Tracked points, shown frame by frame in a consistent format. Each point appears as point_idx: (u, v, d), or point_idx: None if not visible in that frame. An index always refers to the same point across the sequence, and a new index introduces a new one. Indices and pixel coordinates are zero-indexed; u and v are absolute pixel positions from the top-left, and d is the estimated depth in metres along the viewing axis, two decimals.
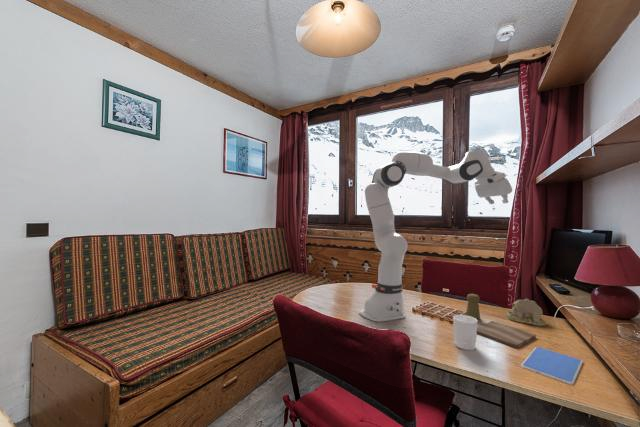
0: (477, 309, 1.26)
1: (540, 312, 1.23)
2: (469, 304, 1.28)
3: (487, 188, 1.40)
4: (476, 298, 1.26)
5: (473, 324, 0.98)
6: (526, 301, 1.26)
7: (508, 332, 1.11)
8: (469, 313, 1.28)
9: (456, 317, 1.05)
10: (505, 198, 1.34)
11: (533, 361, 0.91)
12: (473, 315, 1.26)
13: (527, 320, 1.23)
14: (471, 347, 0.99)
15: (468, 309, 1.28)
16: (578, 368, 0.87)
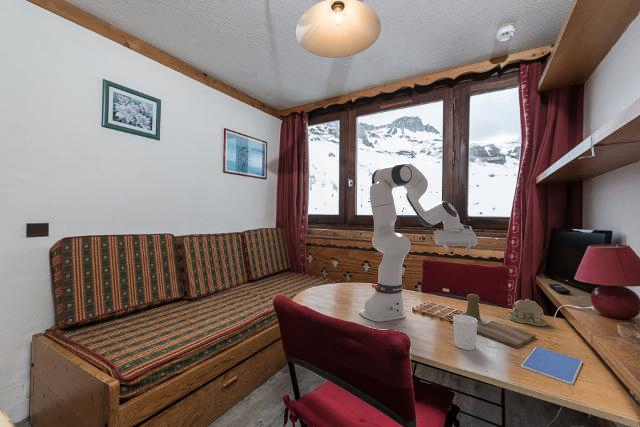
0: (477, 309, 1.26)
1: (541, 312, 1.22)
2: (469, 304, 1.28)
3: (453, 235, 1.47)
4: (476, 298, 1.26)
5: (473, 324, 0.98)
6: (527, 301, 1.25)
7: (508, 332, 1.11)
8: (469, 313, 1.28)
9: (456, 317, 1.05)
10: (469, 247, 1.42)
11: (533, 361, 0.91)
12: (473, 315, 1.26)
13: (528, 320, 1.23)
14: (471, 347, 0.99)
15: (468, 309, 1.28)
16: (578, 368, 0.87)
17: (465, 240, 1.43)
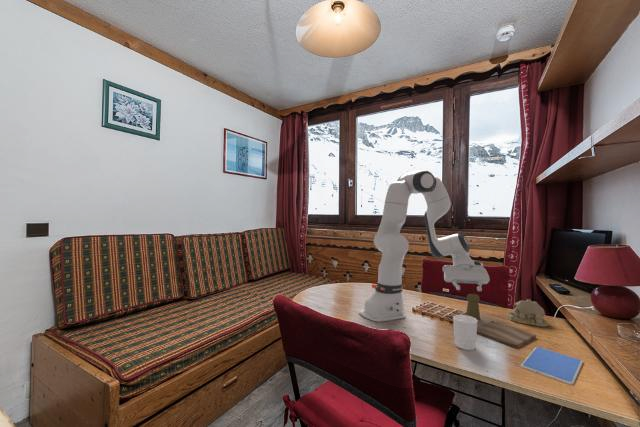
0: (477, 309, 1.26)
1: (542, 313, 1.22)
2: (469, 304, 1.28)
3: (464, 271, 1.40)
4: (476, 298, 1.26)
5: (473, 324, 0.98)
6: (528, 302, 1.25)
7: (508, 332, 1.11)
8: (469, 313, 1.28)
9: (456, 317, 1.05)
10: (481, 285, 1.35)
11: (533, 361, 0.91)
12: (473, 315, 1.26)
13: (530, 321, 1.22)
14: (471, 347, 0.99)
15: (468, 309, 1.28)
16: (578, 368, 0.87)
17: (476, 278, 1.36)
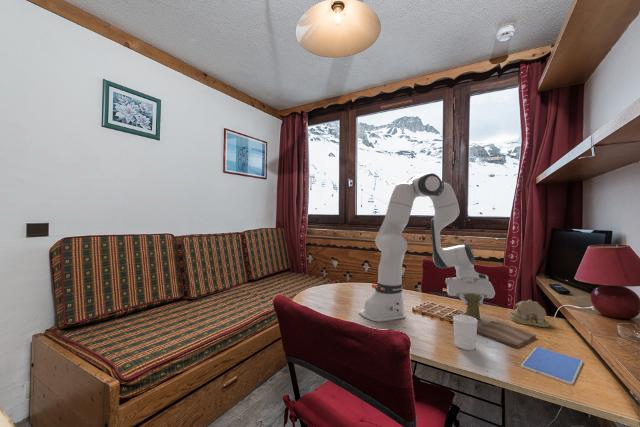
0: (477, 309, 1.26)
1: (544, 313, 1.21)
2: (469, 304, 1.28)
3: (468, 285, 1.33)
4: (476, 298, 1.26)
5: (473, 324, 0.98)
6: (529, 302, 1.24)
7: (508, 332, 1.11)
8: (469, 313, 1.28)
9: (456, 317, 1.05)
10: (482, 300, 1.29)
11: (533, 361, 0.91)
12: (473, 315, 1.26)
13: (531, 321, 1.21)
14: (471, 347, 0.99)
15: (468, 309, 1.28)
16: (578, 368, 0.87)
17: (481, 292, 1.30)
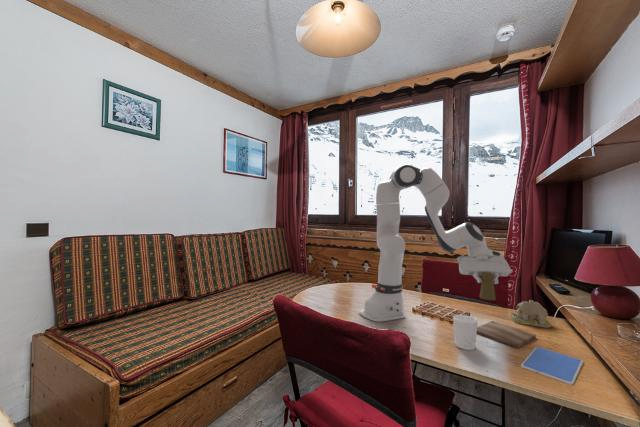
0: (492, 288, 1.19)
1: (545, 313, 1.21)
2: (483, 283, 1.20)
3: (481, 262, 1.25)
4: (491, 276, 1.18)
5: (473, 324, 0.98)
6: (531, 303, 1.24)
7: (508, 332, 1.11)
8: (483, 292, 1.20)
9: (456, 317, 1.05)
10: (497, 278, 1.21)
11: (533, 361, 0.91)
12: (488, 294, 1.18)
13: (533, 322, 1.21)
14: (471, 347, 0.99)
15: (482, 288, 1.20)
16: (578, 368, 0.87)
17: (496, 270, 1.22)
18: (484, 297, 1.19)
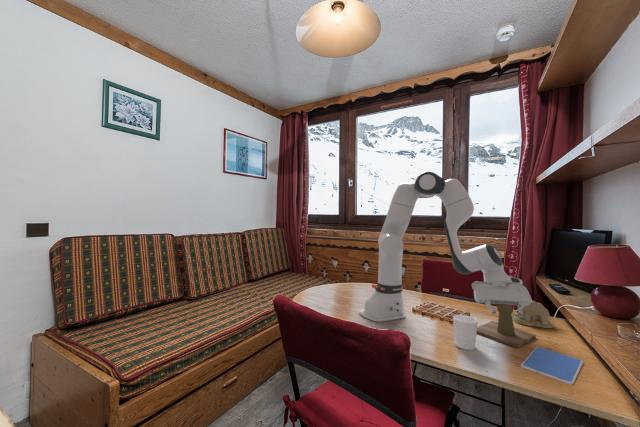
0: (511, 322, 1.08)
1: (547, 314, 1.20)
2: (501, 316, 1.10)
3: (499, 290, 1.15)
4: (509, 309, 1.08)
5: (473, 324, 0.98)
6: (533, 303, 1.23)
7: None
8: (501, 327, 1.10)
9: (456, 317, 1.05)
10: None
11: (533, 361, 0.91)
12: (506, 329, 1.08)
13: (535, 323, 1.20)
14: (471, 347, 0.99)
15: (500, 322, 1.10)
16: (578, 368, 0.87)
17: (515, 299, 1.12)
18: (502, 332, 1.09)
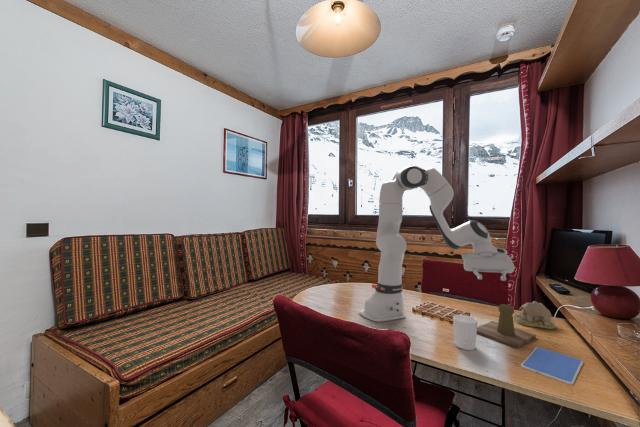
0: (511, 322, 1.08)
1: (549, 314, 1.20)
2: (502, 316, 1.10)
3: (486, 259, 1.28)
4: (510, 310, 1.08)
5: (473, 324, 0.98)
6: (535, 304, 1.22)
7: None
8: (501, 327, 1.09)
9: (456, 317, 1.05)
10: (505, 275, 1.23)
11: (533, 361, 0.91)
12: (507, 329, 1.08)
13: (538, 324, 1.19)
14: (471, 347, 0.99)
15: (500, 322, 1.10)
16: (578, 368, 0.87)
17: (500, 267, 1.25)
18: (502, 332, 1.09)
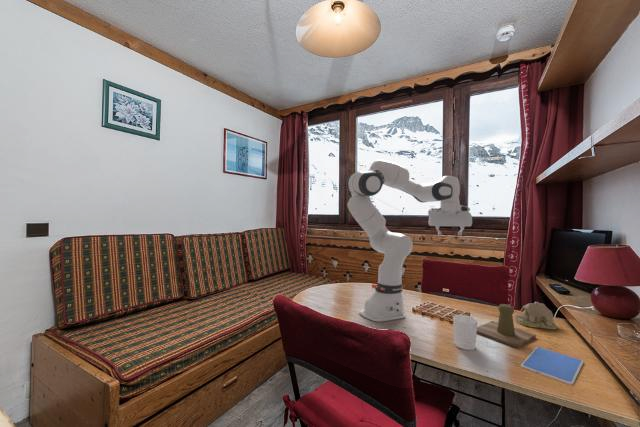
0: (511, 322, 1.08)
1: (551, 315, 1.19)
2: (501, 316, 1.10)
3: (448, 217, 1.40)
4: (510, 309, 1.08)
5: (473, 324, 0.98)
6: (537, 304, 1.22)
7: None
8: (501, 327, 1.09)
9: (456, 317, 1.05)
10: None
11: (533, 361, 0.91)
12: (507, 329, 1.08)
13: (540, 324, 1.18)
14: (471, 347, 0.99)
15: (500, 322, 1.10)
16: (578, 368, 0.87)
17: (459, 224, 1.39)
18: (502, 332, 1.09)
